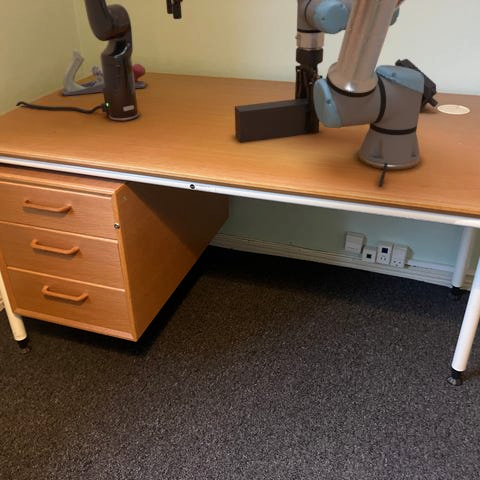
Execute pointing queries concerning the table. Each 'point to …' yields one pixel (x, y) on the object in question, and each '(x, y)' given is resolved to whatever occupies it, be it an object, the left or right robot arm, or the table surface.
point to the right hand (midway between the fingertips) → (305, 128)
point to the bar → (271, 120)
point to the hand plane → (95, 85)
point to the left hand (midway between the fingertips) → (174, 16)
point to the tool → (428, 84)
